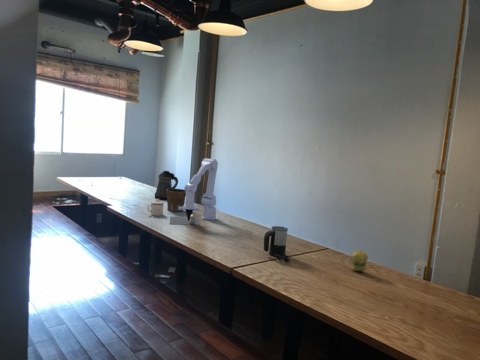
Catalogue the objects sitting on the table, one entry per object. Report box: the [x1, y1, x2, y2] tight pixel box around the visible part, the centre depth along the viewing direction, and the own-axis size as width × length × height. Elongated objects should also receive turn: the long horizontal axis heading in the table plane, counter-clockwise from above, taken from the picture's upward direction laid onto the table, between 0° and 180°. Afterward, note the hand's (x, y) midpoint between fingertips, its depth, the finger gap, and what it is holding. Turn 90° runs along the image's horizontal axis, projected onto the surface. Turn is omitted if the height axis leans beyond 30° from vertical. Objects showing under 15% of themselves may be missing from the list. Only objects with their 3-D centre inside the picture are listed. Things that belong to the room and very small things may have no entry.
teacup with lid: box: [147, 199, 165, 217], centre depth 277 cm, size 12×9×12 cm
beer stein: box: [154, 170, 179, 201], centre depth 344 cm, size 16×19×25 cm
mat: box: [169, 215, 201, 226], centre depth 266 cm, size 20×22×1 cm
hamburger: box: [350, 249, 369, 272], centre depth 188 cm, size 8×7×12 cm
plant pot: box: [166, 188, 186, 213], centre depth 297 cm, size 16×16×16 cm
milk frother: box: [263, 225, 291, 262], centre depth 202 cm, size 14×16×15 cm
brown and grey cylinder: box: [190, 215, 195, 226], centre depth 256 cm, size 3×3×6 cm
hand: (188, 220), depth 261 cm, fingers closed
